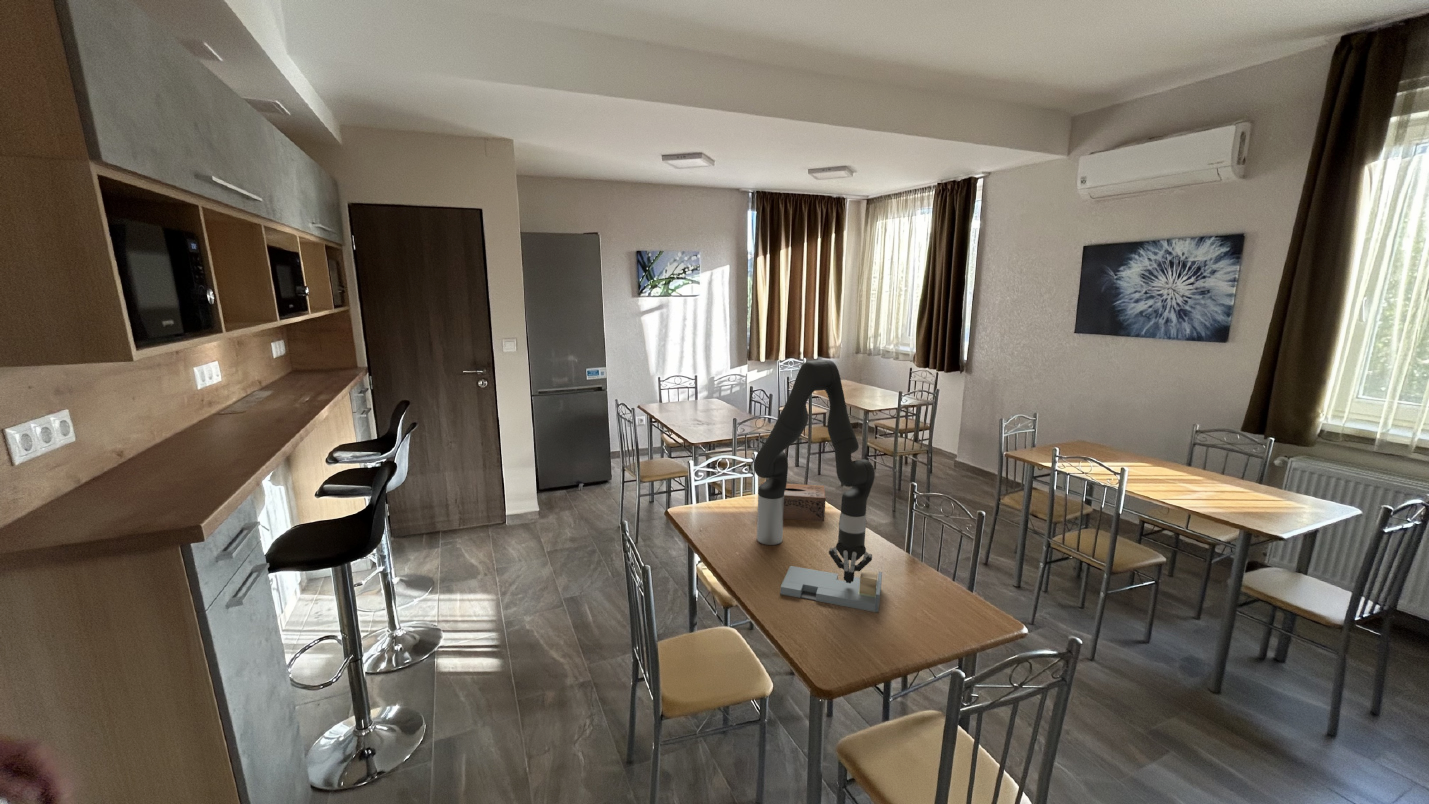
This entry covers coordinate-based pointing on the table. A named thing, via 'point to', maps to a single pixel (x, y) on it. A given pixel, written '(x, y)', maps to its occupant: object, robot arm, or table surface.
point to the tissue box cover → (804, 502)
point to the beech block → (868, 582)
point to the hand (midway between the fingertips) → (848, 581)
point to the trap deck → (829, 589)
